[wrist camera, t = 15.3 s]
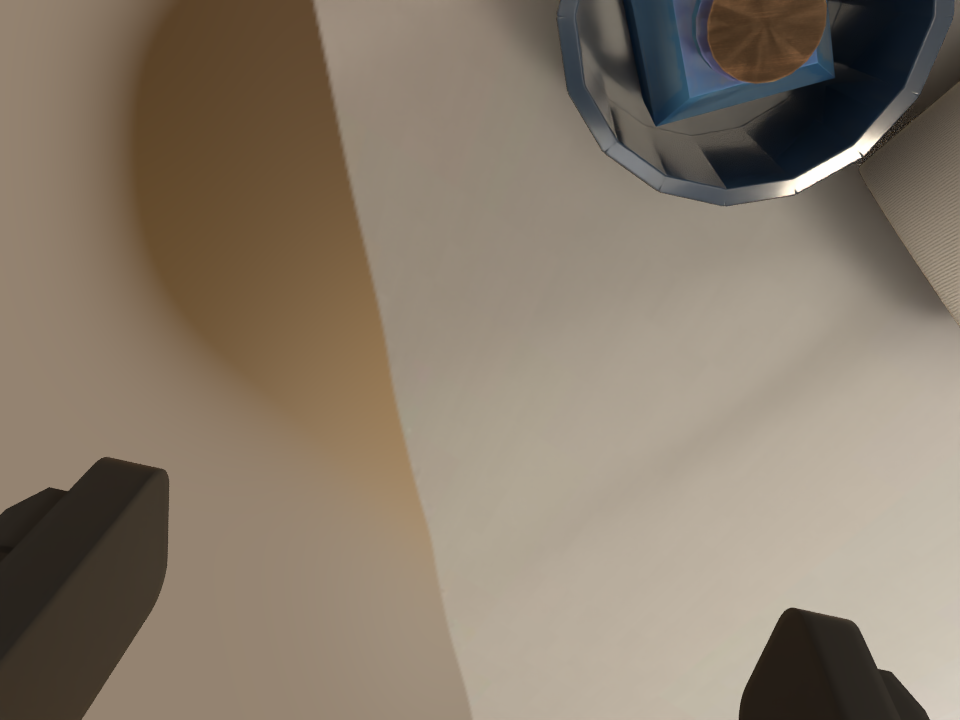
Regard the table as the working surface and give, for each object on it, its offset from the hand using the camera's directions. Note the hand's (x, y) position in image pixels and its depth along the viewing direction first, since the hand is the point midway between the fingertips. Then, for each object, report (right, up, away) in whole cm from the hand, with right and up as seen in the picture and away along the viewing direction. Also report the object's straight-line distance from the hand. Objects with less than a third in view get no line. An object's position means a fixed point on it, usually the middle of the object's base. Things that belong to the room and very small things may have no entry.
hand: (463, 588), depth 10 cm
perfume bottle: (+9, +18, +22) cm, 30 cm away
